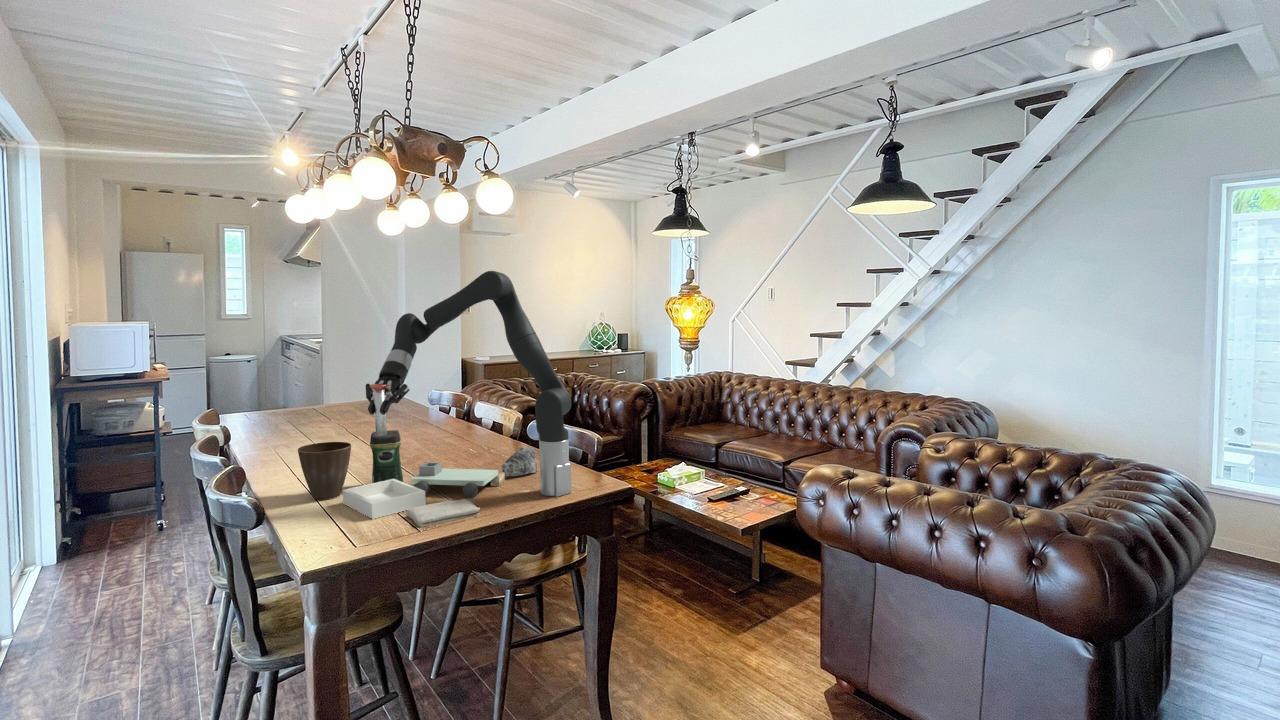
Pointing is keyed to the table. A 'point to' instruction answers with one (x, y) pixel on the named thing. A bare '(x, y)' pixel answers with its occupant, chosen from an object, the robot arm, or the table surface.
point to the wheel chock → (498, 479)
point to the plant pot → (325, 467)
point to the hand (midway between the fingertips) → (376, 412)
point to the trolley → (452, 477)
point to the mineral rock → (520, 462)
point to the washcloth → (442, 512)
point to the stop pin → (378, 401)
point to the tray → (384, 498)
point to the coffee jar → (386, 456)
